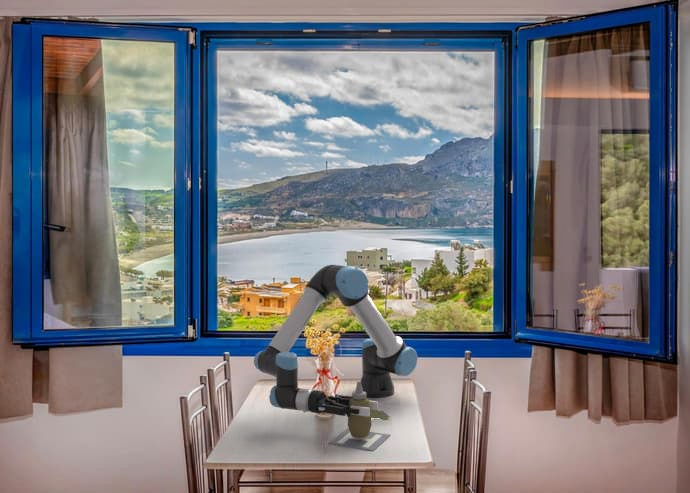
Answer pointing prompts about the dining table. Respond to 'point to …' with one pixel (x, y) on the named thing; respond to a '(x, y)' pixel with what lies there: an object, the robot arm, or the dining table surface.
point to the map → (379, 414)
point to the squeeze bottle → (358, 423)
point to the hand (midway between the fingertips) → (373, 409)
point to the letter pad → (360, 440)
